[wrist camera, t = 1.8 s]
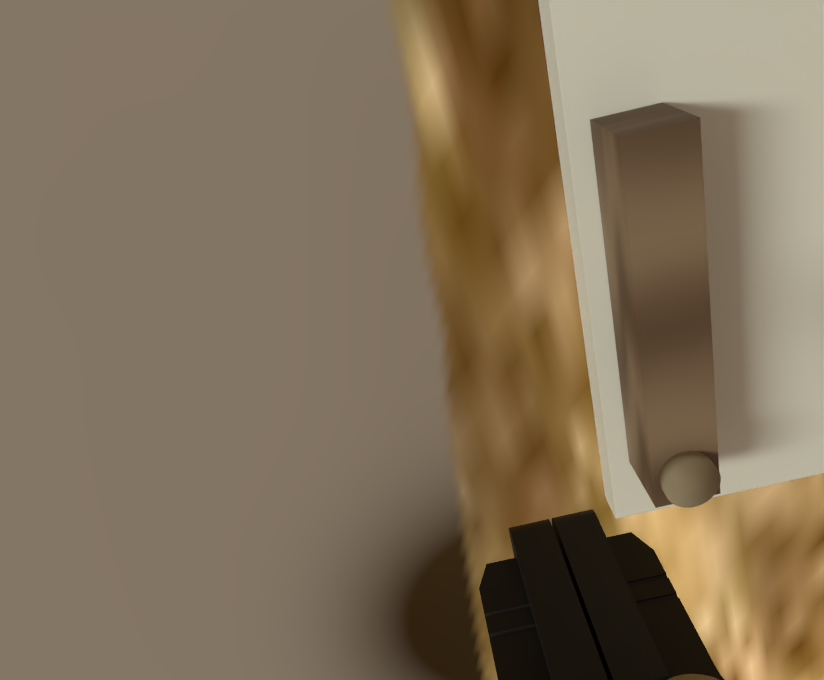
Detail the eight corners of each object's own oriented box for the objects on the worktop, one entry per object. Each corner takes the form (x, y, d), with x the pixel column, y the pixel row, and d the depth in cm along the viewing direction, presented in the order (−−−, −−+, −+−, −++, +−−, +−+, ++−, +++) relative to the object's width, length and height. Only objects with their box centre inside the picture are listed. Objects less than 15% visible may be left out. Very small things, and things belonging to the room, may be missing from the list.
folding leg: (688, 448, 31) (727, 503, 28) (629, 461, 31) (661, 518, 28) (662, 102, 25) (708, 120, 22) (589, 119, 25) (625, 140, 22)
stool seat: (535, -25, 25) (545, -25, 23) (1004, -138, 24) (1043, -145, 23) (605, 496, 34) (615, 518, 32) (947, 421, 33) (973, 440, 32)
